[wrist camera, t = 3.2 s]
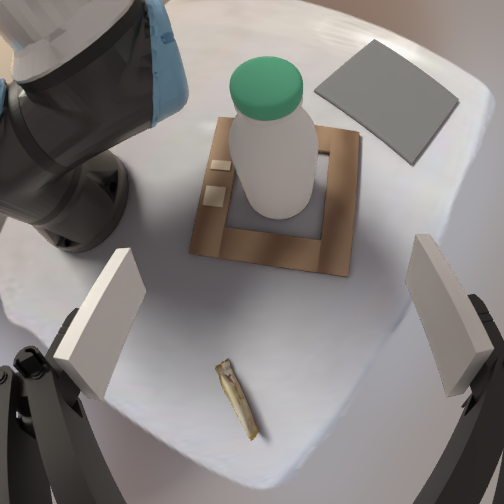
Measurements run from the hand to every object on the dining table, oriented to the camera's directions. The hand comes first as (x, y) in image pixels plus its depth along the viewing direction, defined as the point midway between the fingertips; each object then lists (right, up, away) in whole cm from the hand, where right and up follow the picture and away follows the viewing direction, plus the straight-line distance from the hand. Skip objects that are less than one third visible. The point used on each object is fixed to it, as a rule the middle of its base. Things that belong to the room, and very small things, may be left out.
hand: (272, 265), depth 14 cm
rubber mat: (+19, +23, +23) cm, 37 cm away
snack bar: (-2, -16, +20) cm, 26 cm away
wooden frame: (+2, +8, +23) cm, 24 cm away
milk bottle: (+2, +8, +23) cm, 24 cm away
